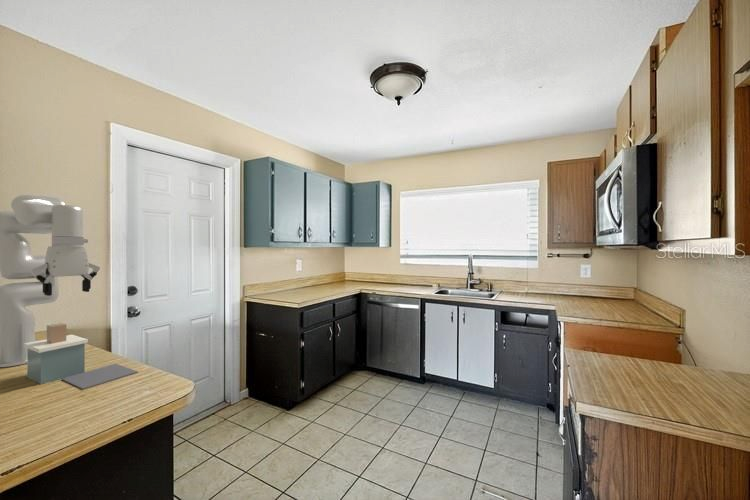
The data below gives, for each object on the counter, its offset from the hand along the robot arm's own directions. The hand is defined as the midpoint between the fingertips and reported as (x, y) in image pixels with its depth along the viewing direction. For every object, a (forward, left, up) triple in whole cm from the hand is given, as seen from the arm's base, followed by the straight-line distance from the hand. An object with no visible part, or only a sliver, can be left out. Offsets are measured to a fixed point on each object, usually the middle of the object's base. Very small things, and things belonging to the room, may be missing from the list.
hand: (67, 293), depth 106 cm
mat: (0, +9, -31) cm, 32 cm away
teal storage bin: (-15, +2, -31) cm, 34 cm away
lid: (-15, +2, -20) cm, 25 cm away
